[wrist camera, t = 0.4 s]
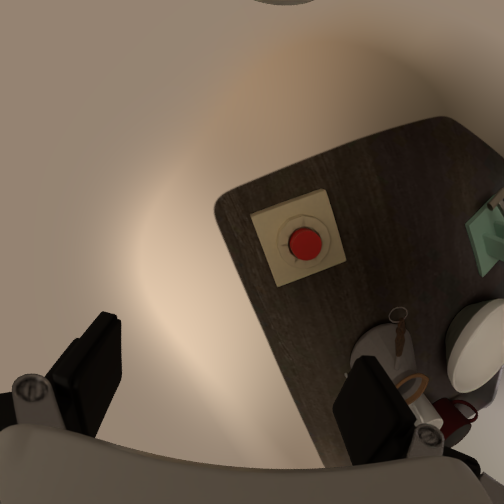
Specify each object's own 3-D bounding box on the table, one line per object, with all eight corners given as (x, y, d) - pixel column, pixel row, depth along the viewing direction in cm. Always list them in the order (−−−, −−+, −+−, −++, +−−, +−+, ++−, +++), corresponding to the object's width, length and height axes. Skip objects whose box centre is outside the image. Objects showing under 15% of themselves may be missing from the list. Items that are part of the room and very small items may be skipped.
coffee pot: (407, 352, 46) (448, 402, 32) (353, 380, 47) (383, 440, 33) (384, 252, 40) (443, 290, 26) (317, 285, 41) (353, 342, 27)
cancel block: (250, 214, 38) (251, 219, 34) (320, 188, 38) (330, 190, 34) (275, 281, 41) (279, 292, 37) (341, 256, 40) (351, 265, 36)
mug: (458, 381, 51) (481, 408, 40) (460, 398, 53) (481, 424, 43) (419, 411, 52) (439, 442, 42) (424, 426, 54) (442, 454, 44)
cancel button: (285, 234, 35) (288, 237, 34) (313, 223, 35) (316, 226, 33) (294, 260, 36) (297, 265, 35) (321, 250, 36) (325, 254, 34)
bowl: (489, 341, 48) (513, 361, 39) (427, 381, 49) (448, 408, 40) (495, 268, 43) (526, 284, 34) (426, 309, 44) (456, 335, 35)
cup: (415, 372, 48) (439, 403, 38) (425, 400, 51) (444, 428, 42) (382, 395, 49) (401, 429, 39) (395, 420, 52) (412, 450, 42)
